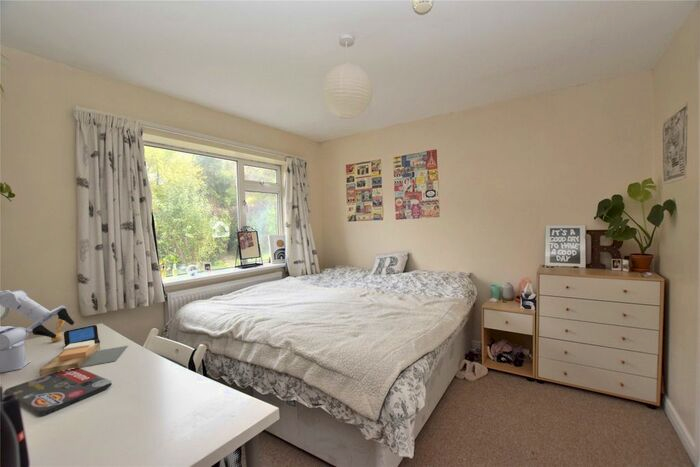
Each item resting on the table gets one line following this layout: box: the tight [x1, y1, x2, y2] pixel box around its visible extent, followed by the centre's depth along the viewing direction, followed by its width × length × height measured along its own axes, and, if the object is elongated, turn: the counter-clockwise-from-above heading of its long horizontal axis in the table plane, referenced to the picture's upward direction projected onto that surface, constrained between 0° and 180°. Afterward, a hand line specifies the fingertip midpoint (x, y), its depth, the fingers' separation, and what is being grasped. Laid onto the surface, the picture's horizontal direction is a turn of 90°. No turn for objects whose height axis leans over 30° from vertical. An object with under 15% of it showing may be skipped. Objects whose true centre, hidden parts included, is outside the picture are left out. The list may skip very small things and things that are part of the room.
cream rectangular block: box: [62, 340, 95, 352], centre depth 137 cm, size 9×6×2 cm, turn 112°
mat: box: [79, 345, 129, 369], centre depth 134 cm, size 12×17×1 cm
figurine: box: [50, 318, 65, 343], centre depth 155 cm, size 8×6×12 cm
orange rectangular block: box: [58, 347, 92, 361], centre depth 129 cm, size 9×6×2 cm, turn 112°
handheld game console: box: [63, 324, 101, 348], centre depth 149 cm, size 12×11×7 cm
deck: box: [38, 342, 101, 377], centre depth 131 cm, size 12×22×2 cm, turn 22°
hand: (64, 330), depth 130 cm, fingers open, 7 cm apart
